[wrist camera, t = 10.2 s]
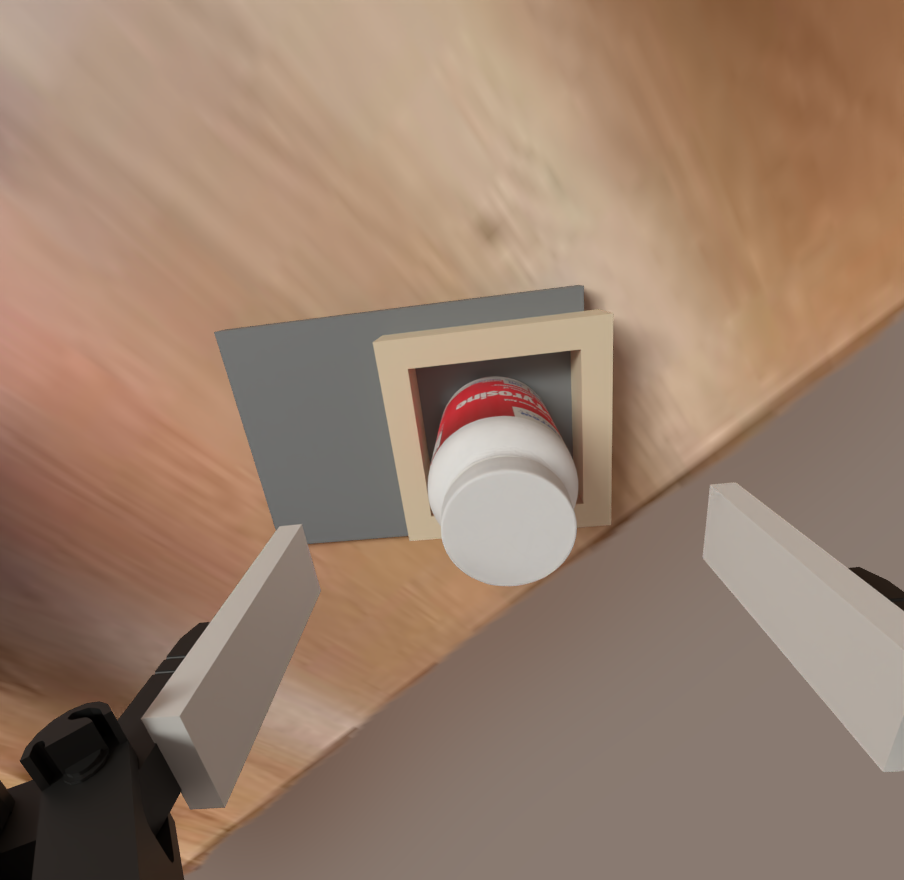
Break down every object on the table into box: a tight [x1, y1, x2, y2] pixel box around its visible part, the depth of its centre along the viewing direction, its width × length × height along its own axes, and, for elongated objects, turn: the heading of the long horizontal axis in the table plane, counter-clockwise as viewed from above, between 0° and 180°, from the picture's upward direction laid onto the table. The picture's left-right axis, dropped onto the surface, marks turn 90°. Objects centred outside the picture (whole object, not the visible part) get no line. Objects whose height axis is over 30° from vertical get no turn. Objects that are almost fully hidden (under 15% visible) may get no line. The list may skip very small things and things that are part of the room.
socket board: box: [214, 285, 613, 544], centre depth 25 cm, size 21×14×4 cm
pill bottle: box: [428, 376, 578, 586], centre depth 20 cm, size 6×6×11 cm
